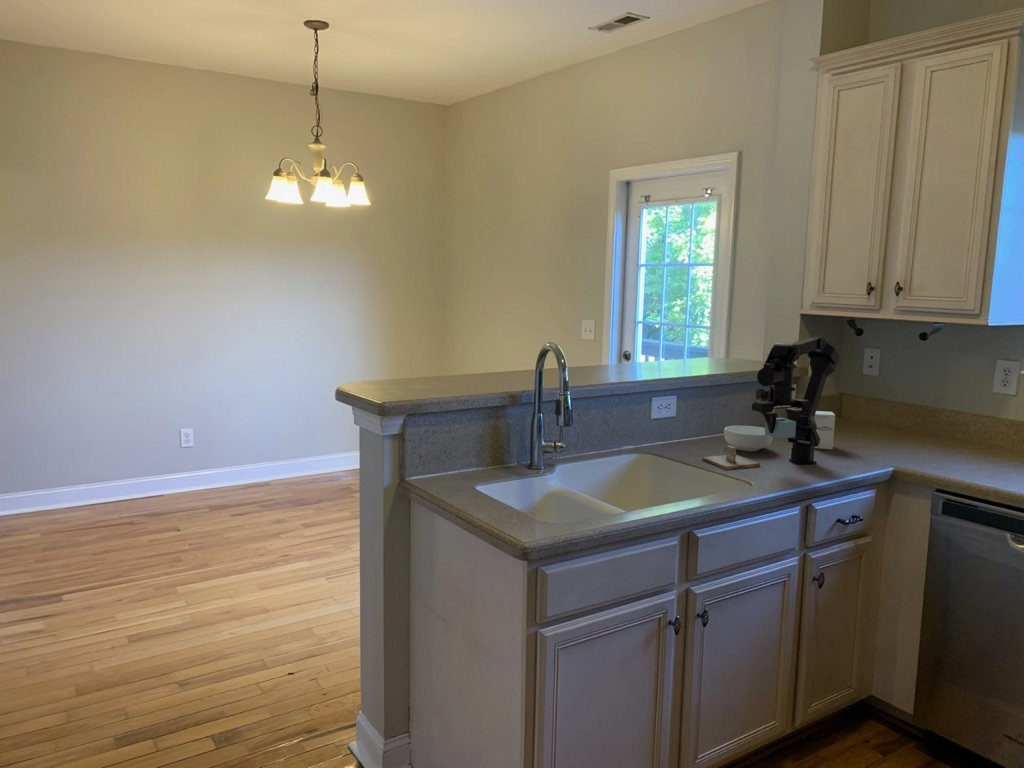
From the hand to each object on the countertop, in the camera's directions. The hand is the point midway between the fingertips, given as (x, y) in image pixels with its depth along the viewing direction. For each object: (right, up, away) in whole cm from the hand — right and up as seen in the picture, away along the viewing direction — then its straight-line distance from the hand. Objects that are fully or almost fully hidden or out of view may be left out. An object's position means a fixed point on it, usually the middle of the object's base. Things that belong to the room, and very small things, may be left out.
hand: (780, 432), depth 238 cm
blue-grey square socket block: (0, -1, 0) cm, 1 cm away
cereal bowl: (-1, -8, +30) cm, 31 cm away
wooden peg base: (-13, -11, +9) cm, 19 cm away
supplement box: (+27, -8, +34) cm, 43 cm away
